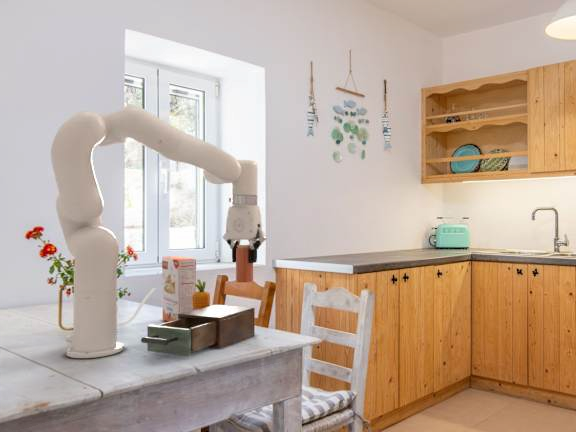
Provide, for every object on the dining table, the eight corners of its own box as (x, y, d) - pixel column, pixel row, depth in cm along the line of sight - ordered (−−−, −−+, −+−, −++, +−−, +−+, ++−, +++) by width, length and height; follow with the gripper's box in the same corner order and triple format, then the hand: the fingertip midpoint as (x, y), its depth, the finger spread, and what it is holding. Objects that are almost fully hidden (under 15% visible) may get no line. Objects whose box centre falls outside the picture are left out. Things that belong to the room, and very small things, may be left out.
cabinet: (219, 348, 137) (219, 317, 136) (177, 344, 141) (177, 313, 141) (254, 335, 151) (254, 307, 151) (215, 331, 156) (215, 304, 156)
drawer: (173, 361, 122) (173, 334, 122) (132, 355, 126) (132, 329, 126) (225, 342, 140) (225, 318, 140) (188, 338, 144) (188, 315, 144)
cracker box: (161, 320, 172) (161, 256, 171) (179, 317, 176) (179, 255, 175) (177, 327, 161) (177, 259, 161) (196, 324, 165) (196, 258, 165)
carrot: (210, 330, 158) (210, 280, 158) (192, 331, 156) (192, 281, 156) (209, 326, 162) (209, 278, 162) (192, 328, 161) (192, 279, 160)
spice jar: (232, 281, 156) (232, 244, 156) (242, 279, 161) (242, 243, 161) (246, 282, 154) (246, 245, 154) (256, 280, 159) (256, 244, 159)
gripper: (212, 201, 157) (212, 262, 157) (261, 201, 151) (261, 264, 151) (228, 201, 164) (228, 260, 164) (275, 201, 158) (275, 262, 158)
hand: (244, 261), depth 158 cm, fingers closed on spice jar, 5 cm apart
